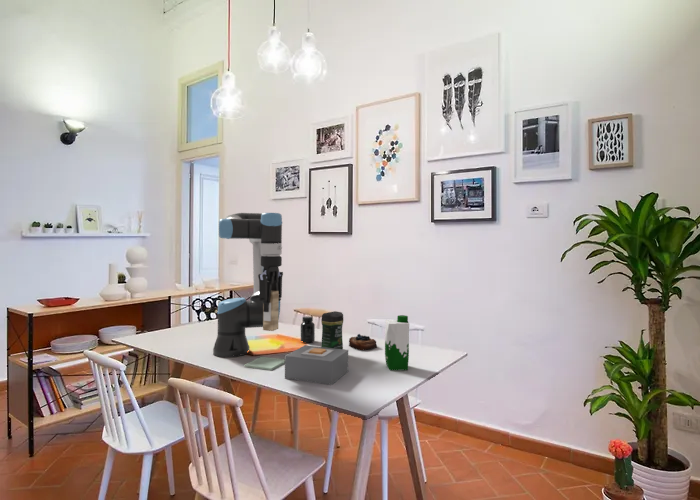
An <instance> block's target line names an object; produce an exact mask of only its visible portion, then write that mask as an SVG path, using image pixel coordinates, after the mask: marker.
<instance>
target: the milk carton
mask: <svg viewBox="0 0 700 500" xmlns="http://www.w3.org/2000/svg"><path fill="white" fill-rule="evenodd" d="M384 329H385V330H384V357H385V365H386V368H387V369H388V370H389V371H408V369H409V357H410V355H409V353H410V322H409V316H408V315H403V314H402V315H397V318H396V319H386V320H385V328H384Z"/></svg>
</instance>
